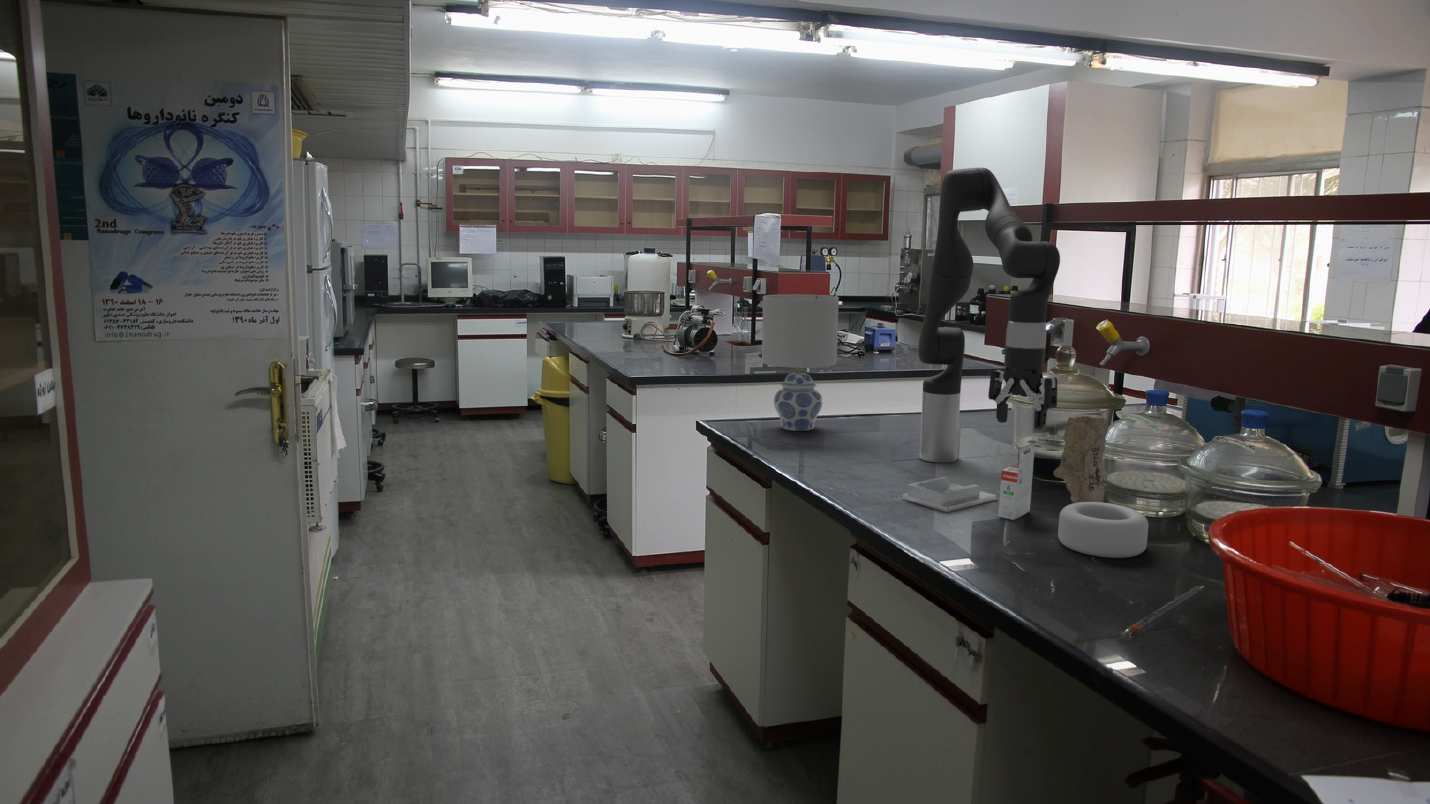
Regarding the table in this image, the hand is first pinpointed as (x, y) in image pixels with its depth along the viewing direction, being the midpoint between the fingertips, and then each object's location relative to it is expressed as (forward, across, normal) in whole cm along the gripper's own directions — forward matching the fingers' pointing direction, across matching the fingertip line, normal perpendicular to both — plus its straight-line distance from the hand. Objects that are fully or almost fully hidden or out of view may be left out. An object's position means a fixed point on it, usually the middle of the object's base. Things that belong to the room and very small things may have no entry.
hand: (1020, 425), depth 187 cm
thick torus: (+19, -21, +3) cm, 28 cm away
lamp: (+18, +90, -21) cm, 94 cm away
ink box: (+19, 0, 0) cm, 19 cm away
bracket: (+18, +15, +2) cm, 24 cm away
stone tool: (+19, -5, -15) cm, 24 cm away
